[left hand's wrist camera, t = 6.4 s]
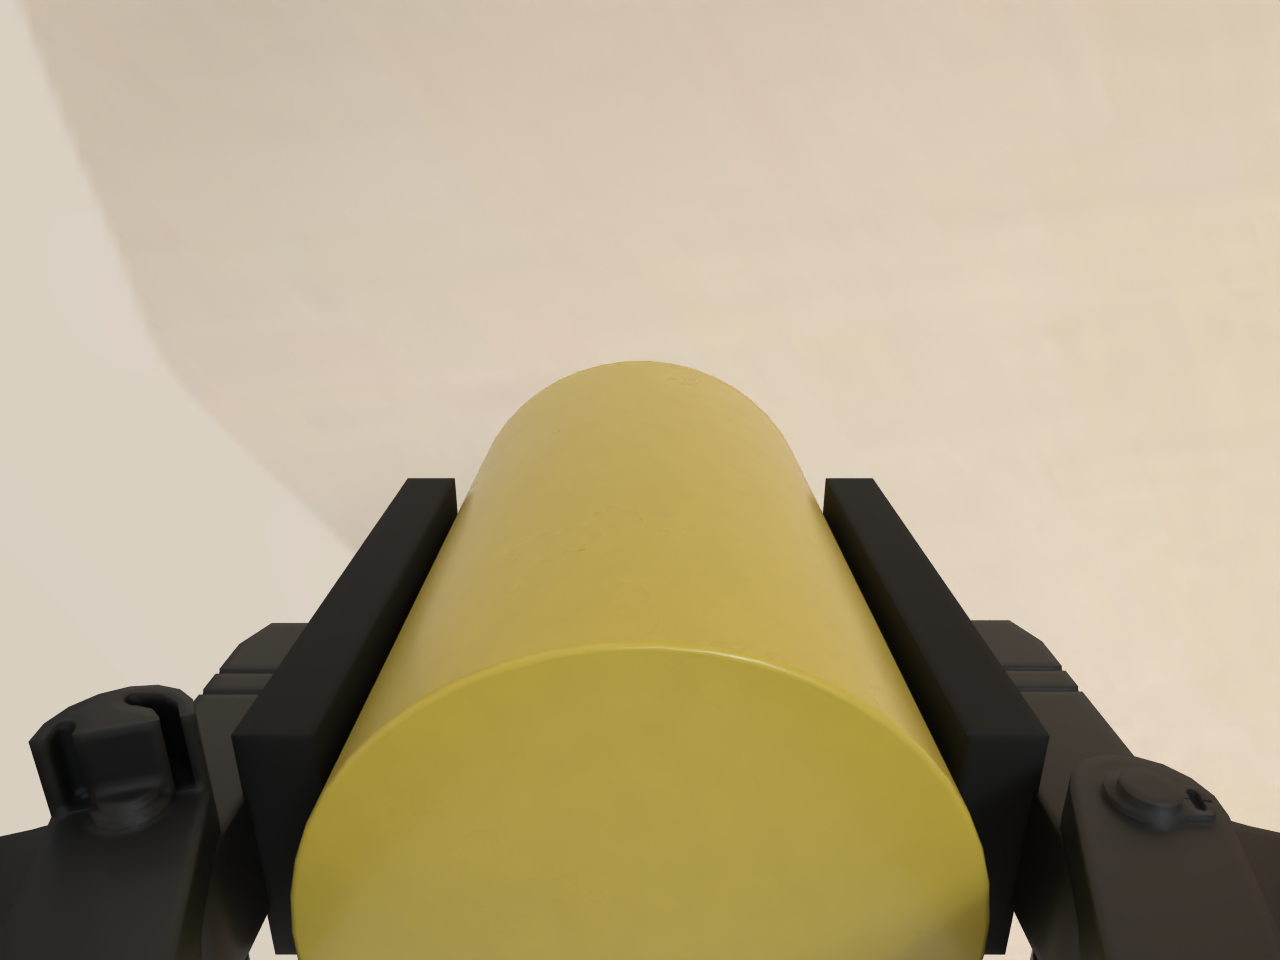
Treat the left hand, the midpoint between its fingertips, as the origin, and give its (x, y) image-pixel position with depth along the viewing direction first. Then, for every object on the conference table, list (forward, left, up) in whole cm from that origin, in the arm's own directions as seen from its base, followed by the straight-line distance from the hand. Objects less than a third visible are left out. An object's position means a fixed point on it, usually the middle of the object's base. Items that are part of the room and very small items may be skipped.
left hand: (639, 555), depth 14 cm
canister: (0, 0, -1) cm, 1 cm away
